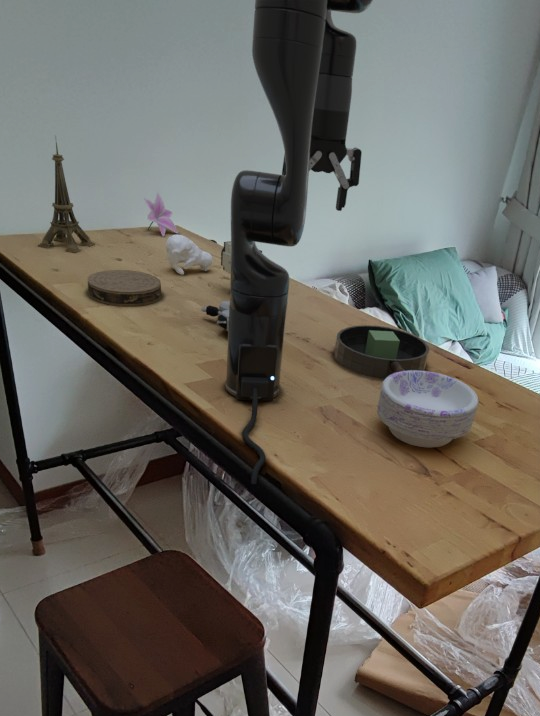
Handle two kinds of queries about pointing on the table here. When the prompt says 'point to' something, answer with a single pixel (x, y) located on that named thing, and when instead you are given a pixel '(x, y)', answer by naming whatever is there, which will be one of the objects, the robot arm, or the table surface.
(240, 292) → the robot arm
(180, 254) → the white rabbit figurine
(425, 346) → the pan
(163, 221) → the lily
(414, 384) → the paper bowls
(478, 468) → the table surface
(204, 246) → the table surface
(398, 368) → the pan handle
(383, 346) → the cube
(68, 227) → the eiffel tower
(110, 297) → the wood log slice
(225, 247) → the pneumatic valve
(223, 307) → the robot toy
